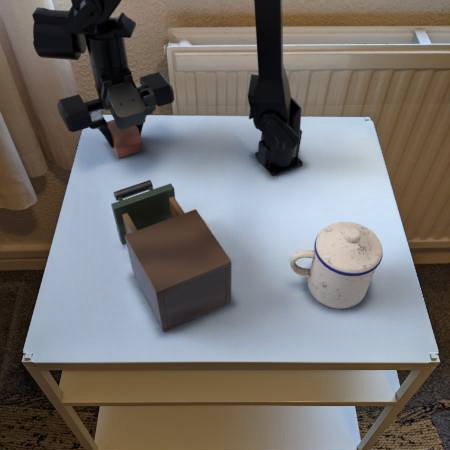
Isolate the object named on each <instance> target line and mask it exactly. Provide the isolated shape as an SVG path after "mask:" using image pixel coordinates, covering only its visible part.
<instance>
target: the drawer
mask: <svg viewBox="0 0 450 450" xmlns="http://www.w3.org/2000/svg"><path fill="white" fill-rule="evenodd" d="M175 193H176V192H175V187H174V186H173V184H172V183H167V184H164V185H161V186H159V187H156V188H154V185H153V182H152V180H151V179H148V180H145V181H142V182H139V183H136V184H134V185H131V186H127V187H125V188H121V189H119V190H116V191H113V196H114V199H115V202H112V203H110V206H111V209H112V214H113V219H114V222H115V226H116V230H117V234H118V238H119V241H120V243H121V245H122V246H124V245H127V243H126V239H125V235H127V234H129V233H132V232H135V231H137V230H140V229H143V228H146V227H148V226H151V225H154V224H157V223H159V222H162V221H165V220H167V219H170V218H173V217H176V216H178V215H181V214H184V213H185V211H184V209H183V208H182V206H181V205H180V203H179V202H178V201H177V199H176V194H175Z"/></svg>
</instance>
